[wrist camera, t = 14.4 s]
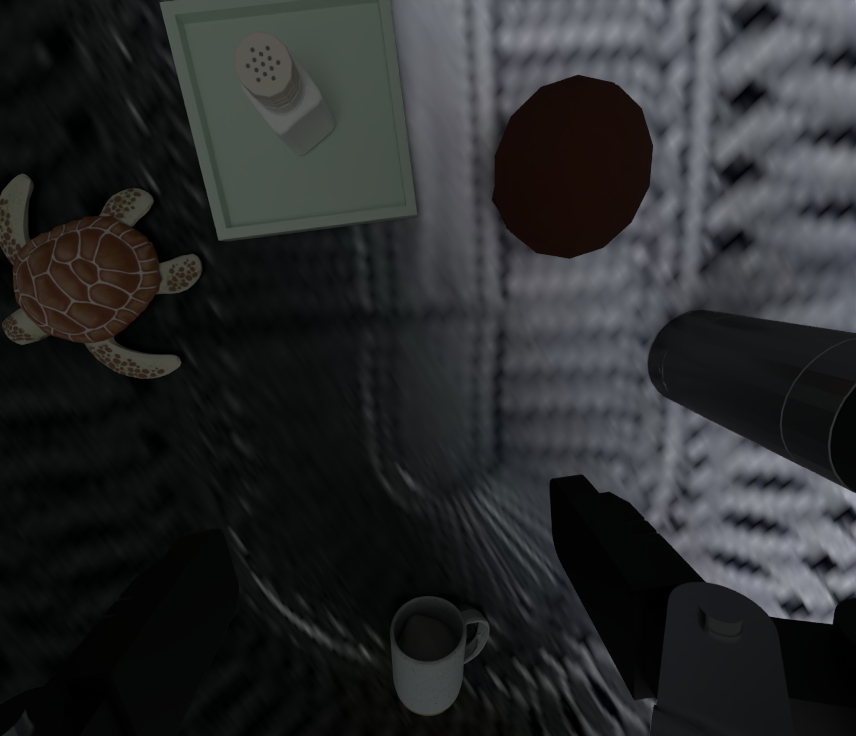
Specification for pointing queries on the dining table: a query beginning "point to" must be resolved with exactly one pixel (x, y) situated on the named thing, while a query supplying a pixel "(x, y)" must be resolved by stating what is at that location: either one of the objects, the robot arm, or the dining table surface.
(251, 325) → the dining table surface
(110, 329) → the decorative turtle
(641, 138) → the muffin
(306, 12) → the tray
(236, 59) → the pepper shaker
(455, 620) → the ceramic mug
